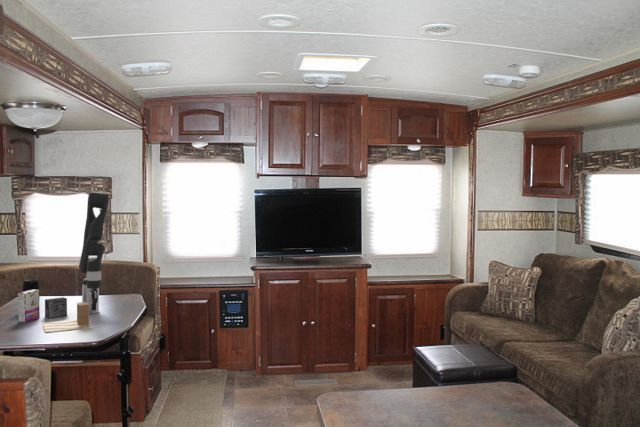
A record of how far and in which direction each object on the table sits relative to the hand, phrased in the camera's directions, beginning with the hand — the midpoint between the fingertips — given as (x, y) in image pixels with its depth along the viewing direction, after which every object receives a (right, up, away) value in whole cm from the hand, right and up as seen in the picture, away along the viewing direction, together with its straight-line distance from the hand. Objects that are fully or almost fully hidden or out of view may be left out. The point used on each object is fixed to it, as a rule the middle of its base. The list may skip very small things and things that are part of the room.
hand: (93, 310), depth 295 cm
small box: (-28, -7, +15) cm, 33 cm away
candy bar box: (-39, -7, +5) cm, 40 cm away
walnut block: (-5, -7, -3) cm, 9 cm away
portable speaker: (-49, -6, +26) cm, 56 cm away
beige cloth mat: (-12, -8, -7) cm, 16 cm away
